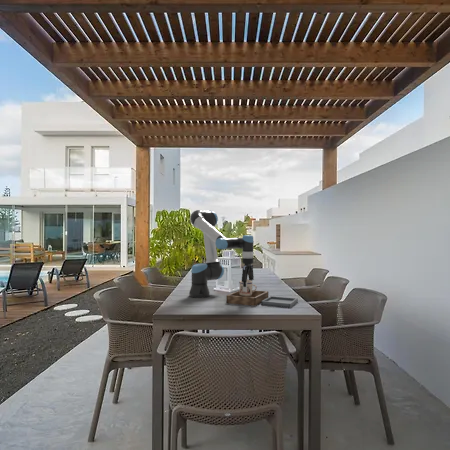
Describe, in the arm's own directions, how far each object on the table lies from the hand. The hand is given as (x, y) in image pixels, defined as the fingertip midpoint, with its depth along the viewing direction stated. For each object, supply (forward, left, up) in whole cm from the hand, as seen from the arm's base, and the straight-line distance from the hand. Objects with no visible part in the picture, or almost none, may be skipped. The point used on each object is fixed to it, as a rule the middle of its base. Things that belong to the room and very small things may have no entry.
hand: (247, 290), depth 236 cm
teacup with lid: (0, 0, -3) cm, 3 cm away
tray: (+23, 0, -7) cm, 24 cm away
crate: (0, 0, -7) cm, 7 cm away
